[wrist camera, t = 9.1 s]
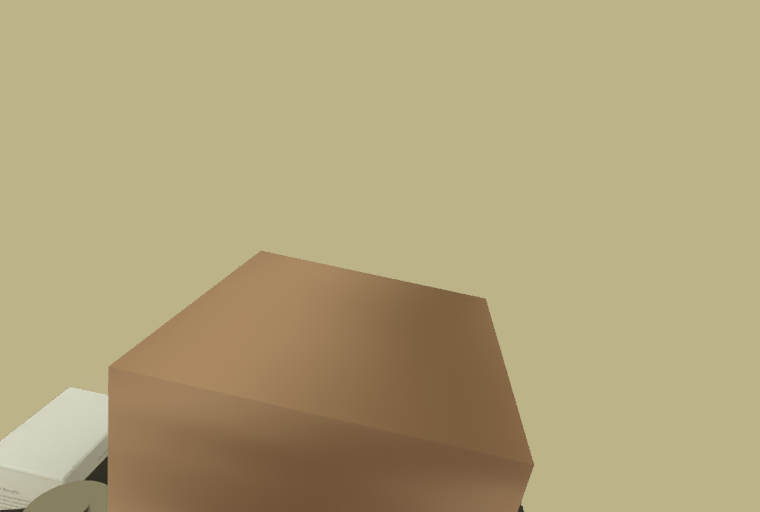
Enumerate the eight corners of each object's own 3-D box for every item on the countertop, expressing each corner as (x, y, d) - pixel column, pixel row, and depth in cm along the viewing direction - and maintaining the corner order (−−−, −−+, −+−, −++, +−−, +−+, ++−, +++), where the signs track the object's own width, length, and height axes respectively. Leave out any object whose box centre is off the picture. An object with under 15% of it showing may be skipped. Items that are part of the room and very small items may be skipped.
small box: (72, 494, 38) (70, 383, 35) (138, 508, 38) (142, 399, 34) (-17, 589, 30) (-30, 458, 27) (66, 608, 30) (62, 479, 27)
